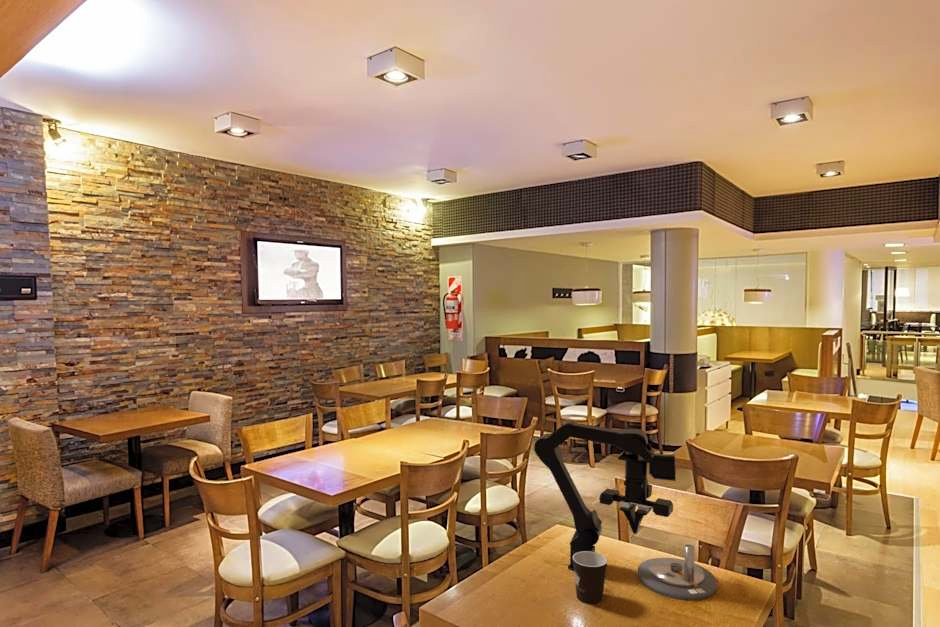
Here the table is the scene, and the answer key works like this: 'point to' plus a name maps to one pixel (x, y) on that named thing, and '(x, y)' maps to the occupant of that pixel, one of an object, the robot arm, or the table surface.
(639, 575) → the dial base
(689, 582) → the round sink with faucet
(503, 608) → the table surface
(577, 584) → the coffee mug
